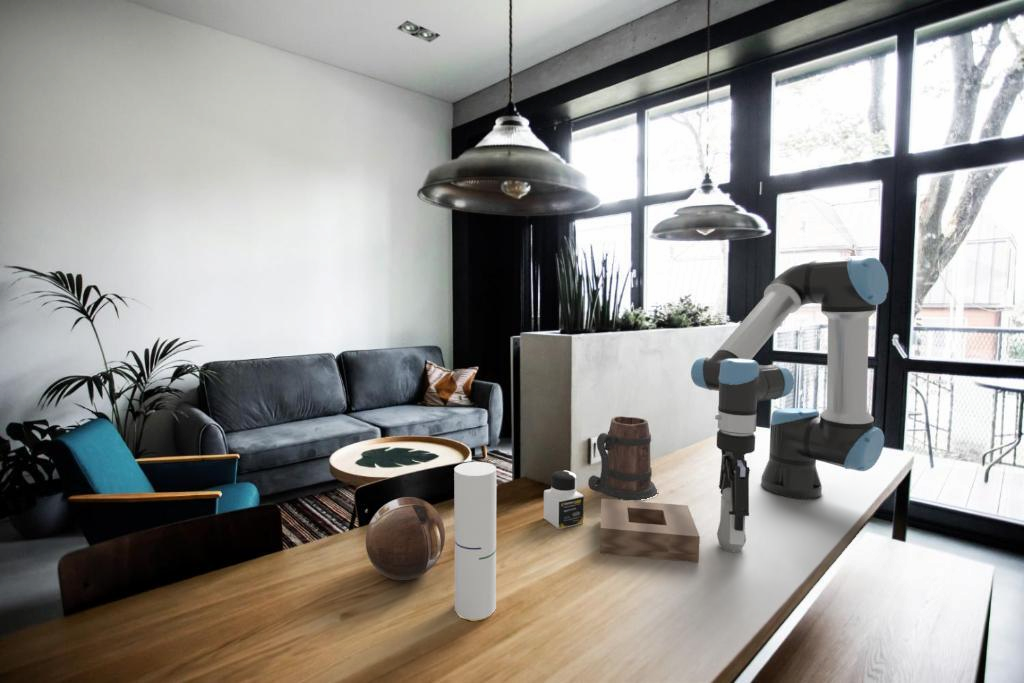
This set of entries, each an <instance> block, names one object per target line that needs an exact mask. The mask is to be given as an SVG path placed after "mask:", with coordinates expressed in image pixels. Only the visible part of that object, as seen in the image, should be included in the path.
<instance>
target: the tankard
mask: <svg viewBox="0 0 1024 683" xmlns="http://www.w3.org/2000/svg"><path fill="white" fill-rule="evenodd" d="M651 442H652V434H651V432H650V427H649V421H648V420H647V419H644V418H640V417H635V416H633V417H631V416H619V415H618V416H614V417H612V418H611V420H610V425H609V430H608V431H607V433H605V432H601V433H600V434H599V435H598V436H597V439H596V447H597V448H596V449H597V450H598V454H599V455H600V460H601V461H600V462H601V468H600V470H601V471H600V476H597V475H594V474H593V475H591V476H590V477H589V478H588V482H587V483H588V488H589V489H590V490H591V491H594V492H595V493H601V494H603V495H605V496H607V497H608V498H611V499H615V498H617V499H616V500H620V499H623V500H624V501H627V500H641V499H647V498H650V497H653V496H655V495H656V494H657V490H658V488H657V487H656V486H655V483H654V482H653V481H652V474H653V470H652V467H651ZM656 488H657V489H656Z"/></svg>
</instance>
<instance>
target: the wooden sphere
mask: <svg viewBox="0 0 1024 683" xmlns="http://www.w3.org/2000/svg"><path fill="white" fill-rule="evenodd" d="M444 525H445V524H444V522H443V519H442V517H441V515H440V512H438V511H437V509H436V508H435V507H434V506H433V505H432V504H430V503H429V502H427V501H425V500H424V499H423V498H422V499H421V498H418V497H413V496H406V497H405V496H403V497H399V498H396V499H393V500H391V501H389V502H387V503H385V504H383V506H381V507H380V508H379V509H378V510H377V511H376V512H375V514H374V515H373V516H372V518H371V519H370V522H369V523H368V527H367V529H366V534H365V548H366V553H367V556H368V559H369V561H370V563H371V564H372V566H373V567H374V569H376V570H377V572H379V573H380V574H382V575H383V576H384V577H387V578H388V579H392V580H396V581H408V580H409V581H410V580H414V579H417V578H419V577H421V576H423V575H424V574H426V573H427V572H428V571H430V570H431V569H432V568H433V567H434V566H435V565H436V563H437V562H438V560H439V559H440V557H441V554H442V553H443V550H444V546H445V543H446V542H445V540H446V533H445V532H446V530H445V526H444Z"/></svg>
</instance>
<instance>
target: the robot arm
mask: <svg viewBox="0 0 1024 683" xmlns="http://www.w3.org/2000/svg"><path fill="white" fill-rule="evenodd" d="M888 277H889V276H888V273H887V271H886V269H885V266H884V265H883V264H882V262H881V261H880V260H879V259H877V258H876V257H873V256H865V255H863V256H862V255H861V256H860V255H859V256H858V255H853V256H843V257H841V256H840V257H829V258H826V257H825V258H810V259H807V260H803V261H801V262H799V263H796V264H794V265H793V266H791V267H789V268H788V269H786V270H784V271H783V272H781V274H779V275H778V276H777V277H775V278H774V279H773V280H772V281H771V282H770V283H769V284H768V285H767V287H766V288H765V289H764V292H763V297H762V299H761V300H760V301H759V302H758V303H757V304H756V305H755V307H754V308H753V309H752V310H751V311H750V312H749V313H748V315H747V316H746V317H745V318H744V319H743V320H742V321H741V323H740V324H739V325H738V326H737V327H736V328H735V330H734V331H733V332H732V333H731V334H730V335H729V337H727V339H726V340H725V341H724V342H723V344H722V345H720V347H719V348H718V349H716V352H714V354H713V355H712V356H711V357H710V358H709V357H700V358H698V359H696V360H695V361H694V362H693V364H692V366H691V369H690V370H691V371H690V377H691V380H692V383H693V384H694V385H695V386H697V387H699V388H702V389H705V390H709V391H717V392H718V406H717V413H718V414H715V416H714V419H715V420H717V428H718V430H717V431H716V447H717V449H718V450H721V451H720V452H721V461H720V462H721V463H720V475H719V484H718V488H719V490H720V495H721V496H720V513H719V514H720V516H719V517H720V518H719V521H720V520H721V516H722V512H723V508H724V504H725V500H724V499H723V497H722V492H723V490H724V489H725V488H731V496H732V511H729V514H731V515H730V537H729V543H730V544H738V545H744V546H745V544H744V533H745V534H746V531H745V529H746V528H745V527H746V517H749V516H750V501H749V500H750V490H749V489H750V487H749V486H750V484H749V481H750V480H749V479H750V471H751V470H750V466H748V462H747V460H746V459H745V456H746V454H752V453H754V452H755V450H756V434H755V432H756V431H757V414H758V413H757V405H758V402H763V401H770V400H779V399H781V398H784V397H786V396H788V395H789V394H790V393H792V390H793V389H794V385H795V381H794V376H793V373H792V372H791V371H790V370H789V368H787V367H785V366H784V365H779V364H768V365H765V364H764V365H763V364H759V363H758V361H757V360H754V359H753V358H754V357H755V356H756V355H757V353H758V352H759V351H760V350H761V349H762V347H763V346H764V345H765V344H766V343H767V341H768V340H769V339H770V338H771V336H772V335H774V333H775V331H777V330H778V328H779V327H780V326H781V325H782V324H783V322H784V321H785V320H786V318H787V317H788V316H789V315H790V314H793V313H796V312H798V310H799V309H800V308H801V307H803V306H804V305H805V306H806V305H809V304H820V306H821V307H820V312H821V313H822V314H823V315H824V316H826V318H827V365H826V366H827V372H826V374H827V378H826V379H827V380H826V382H827V383H826V385H827V386H826V391H827V392H826V408H825V409H824V410H823V411H821V412H819V410H818V409H814V408H806V407H805V408H804V407H788V408H779V409H776V410H774V411H773V412H772V414H771V418H770V419H771V420H770V424H769V426H770V431H769V432H770V434H769V456H768V461H767V463H766V466H765V467H764V470H763V473H761V474H762V475H761V479H760V485H761V486H762V488H764V489H765V490H767V491H768V492H770V493H773V494H776V495H779V496H783V497H787V498H788V497H789V498H794V499H815V498H819V497H821V496H822V489H823V486H822V482H821V479H820V476H819V472H818V470H817V464H816V463H817V461H819V462H822V463H823V462H824V463H827V464H831V465H834V466H836V467H837V466H838V467H841V468H844V469H846V470H854V471H858V472H866V471H869V470H870V469H872V468H874V466H875V465H876V464H877V462H878V460H879V459H880V457H881V455H882V452H883V448H884V444H885V434H884V432H883V430H882V429H881V428H879V427H876V426H875V421H874V420H875V419H874V416H872V415H871V414H870V413H869V412H868V411H867V409H868V375H869V374H868V370H869V369H868V368H869V367H868V366H869V331H870V330H869V322H870V321H869V320H870V317H871V316H872V315H873V314H875V313H876V312H877V306H878V305H881V304H882V303H884V302H885V301H886V299H887V296H888V295H887V294H888V293H889V278H888Z"/></svg>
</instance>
